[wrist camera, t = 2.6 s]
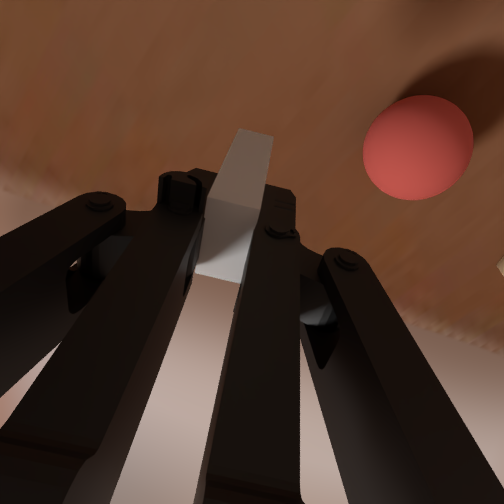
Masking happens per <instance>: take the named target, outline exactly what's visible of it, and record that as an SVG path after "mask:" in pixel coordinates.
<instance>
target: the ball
mask: <svg viewBox="0 0 504 504" xmlns="http://www.w3.org/2000/svg"><path fill="white" fill-rule="evenodd" d="M473 145H474V140H473V132H472V128H471V125H470V123H469V121H468V119H467V117H466V116H465V114H464V113H463V112H462V111H461V110H460V109H459V108H458V107H457V106H456V105H455V104H453V103H452V102H450V101H448V100H446V99H443V98H440V97H437V96H431V95H417V96H411V97H407V98H404V99H402V100H399V101H397V102H395V103H394V104H392V105H390V106H389V107H387V108H386V109H385V110H384V111H382V112H381V113H380V114H379V115H378V116H377V118H376V119H375V120H374V121H373V123H372V125H371V126H370V128H369V130H368V132H367V134H366V137H365V141H364V146H363V161H364V165H365V169H366V171H367V174H368V175H369V177H370V179H371V180H372V182H373V183H374V184H375V185H376V186H377V187H378V188H379V189H380V190H382V191H383V192H385V193H386V194H388V195H390V196H393V197H396V198H399V199H404V200H421V199H426V198H430V197H433V196H435V195H438V194H440V193H442V192H443V191H445V190H447V189H448V188H449V187H451V186H452V185H453V184H454V183H455V182H456V181H457V180H458V179H459V178H460V177H461V176H462V174H463V173H464V171H465V170H466V168H467V166H468V164H469V162H470V159H471V156H472V152H473Z"/></svg>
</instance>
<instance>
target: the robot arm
mask: <svg viewBox="0 0 504 504" xmlns="http://www.w3.org/2000/svg"><path fill="white" fill-rule="evenodd" d="M273 138H274V137H273V136H269V135H265V134H261V133H257V132H253V131H249V130H245V129H241V128H239V129H238V132H237V134H236V136H235V138H234V140H233V142H232V145H231V147H230V149H229V151H228V153H227V155H226V157H225V160H224V162H223V164H222V166H221V168H220V170H219V172H218V173H215V172H210V171H206V170H202V169H198V168H195V169H192V170H190V171H188V172H181V171H171V172H166V173H163V174H162V175H160V176H159V183H158V197H157V204H156V205H155V207H154V208H153V210H151V211H130V210H126V202H125V201H124V200H123V199H122V198H121V197H119V196H117V195H114V194H111V193H108V192H98V191H97V192H91V193H85V194H83V195H80V196H78V197H76V198H74V199H72V200H70V201H68V202H66V203H64V204H62V205H60V206H58V207H56V208H55V209H53V210H51V211H49V212H47V213H45V214H43V215H41V216H39V217H37V218H35V219H33V220H31V221H30V222H28V223H26V224H24V225H22V226H20V227H18V228H16V229H14V230H13V231H10V232H8V233H7V234H5V235H3V236H1V237H0V397H2V396H3V395H4V394H5V393H6V392H7V391H8V390H9V389H10V388H11V387H12V386H13V385H14V384H16V383H17V382H18V381H19V380H20V379H21V378H22V377H23V376H24V375H25V374H27V373H28V372H29V370H31V369H32V368H33V367H34V366H35V365H36V364H37V363H38V362H39V361H40V360H41V359H42V358H44V357H45V356H46V355H47V354H48V353H49V352H50V351H52V349H54V348H55V347H56V346H57V345H58V344H59V343H60V342H61V341H62V342H61V343H60V344H59V346H58V348H57V349H56V350H55V352H54V353H53V355H52V356H51V358H50V359H49V361H48V362H47V363H46V365H45V366H44V368H43V369H42V371H41V372H40V374H39V375H38V376H37V378H36V379H35V381H34V382H33V384H32V385H31V386H30V388H29V389H28V391H27V392H26V394H25V395H24V397H23V398H22V400H21V401H20V403H19V404H18V405H17V407H16V408H15V410H14V411H13V413H12V414H11V416H10V417H9V418H8V420H7V421H6V422H5V424H4V425H3V426H2V427H1V429H0V504H110V501H111V498H112V495H113V493H114V490H115V487H116V485H117V482H118V480H119V477H120V474H121V471H122V468H123V466H124V463H125V461H126V458H127V455H128V453H129V450H130V447H131V445H132V442H133V439H134V437H135V434H136V431H137V428H138V426H139V423H140V420H141V418H142V415H143V413H144V410H145V407H146V404H147V402H148V399H149V396H150V394H151V391H152V388H153V386H154V383H155V380H156V378H157V375H158V372H159V370H160V367H161V364H162V361H163V359H164V356H165V354H166V351H167V348H168V345H169V342H170V340H171V337H172V335H173V332H174V329H175V327H176V324H177V321H178V319H179V316H180V313H181V311H182V308H183V305H184V302H185V300H186V297H187V294H188V292H189V289H190V286H191V284H192V278H193V272H194V269H195V266H196V269H195V273H198V274H202V275H206V276H210V277H214V278H219V279H223V280H227V281H231V282H236V283H240V287H239V292H238V295H237V299H236V303H235V307H234V311H233V312H234V314H233V319H232V324H231V329H230V333H229V338H228V343H227V348H226V352H225V357H224V361H223V366H222V371H221V376H220V380H219V385H218V390H217V395H216V399H215V404H214V409H213V413H212V418H211V423H210V427H209V432H208V437H207V442H206V446H205V451H204V456H203V460H202V465H201V470H200V475H199V479H198V484H197V489H196V494H195V498H194V503H193V504H305V503H304V502H303V501H302V498H301V494H300V339H301V343H302V346H303V349H304V353H305V356H306V359H307V363H308V366H309V370H310V373H311V377H312V380H313V383H314V387H315V390H316V394H317V397H318V401H319V404H320V407H321V411H322V414H323V417H324V421H325V424H326V428H327V431H328V435H329V438H330V441H331V445H332V448H333V452H334V455H335V459H336V462H337V465H338V469H339V472H340V476H341V479H342V482H343V486H344V489H345V492H346V496H347V499H348V503H349V504H504V488H503V487H502V485H501V483H500V482H499V480H498V478H497V476H496V475H495V473H494V471H493V470H492V468H491V467H490V465H489V463H488V461H487V460H486V458H485V457H484V455H483V453H482V451H481V450H480V448H479V447H478V445H477V443H476V442H475V440H474V438H473V437H472V435H471V433H470V432H469V430H468V428H467V427H466V425H465V423H464V422H463V420H462V418H461V417H460V415H459V413H458V412H457V410H456V408H455V407H454V405H453V404H452V402H451V400H450V398H449V397H448V395H447V394H446V392H445V390H444V388H443V387H442V385H441V383H440V382H439V380H438V379H437V377H436V375H435V373H434V372H433V370H432V368H431V367H430V365H429V364H428V362H427V360H426V358H425V357H424V355H423V353H422V352H421V350H420V348H419V347H418V345H417V343H416V342H415V340H414V338H413V337H412V335H411V333H410V332H409V330H408V328H407V327H406V325H405V323H404V322H403V320H402V318H401V317H400V315H399V313H398V312H397V310H396V308H395V307H394V305H393V303H392V302H391V300H390V298H389V297H388V295H387V293H386V292H385V290H384V288H383V287H382V285H381V283H380V282H379V280H378V278H377V277H376V275H375V273H374V272H373V270H372V269H371V267H370V265H369V264H368V263H367V261H366V260H365V259H364V258H363V257H361V256H360V255H358V254H357V253H356V252H354V251H351V250H349V249H344V248H330V249H327V250H326V251H325V253H324V254H323V256H322V255H320V254H318V253H315V252H313V251H311V250H309V249H307V248H306V247H305V246H303V245H302V244H301V243H300V235H299V232H298V231H297V230H296V229H295V218H296V212H295V211H296V197H295V196H294V194H293V193H292V192H291V190H288V189H284V188H280V187H276V186H272V185H268V184H265V182H266V177H267V171H268V166H269V160H270V155H271V149H272V144H273ZM76 260H77V263H76V264H75V265H73V266H72V267H70V266H71V265H72V264H73V263H74V262H75V261H76Z"/></svg>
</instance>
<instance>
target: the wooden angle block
mask: <svg viewBox="0 0 504 504" xmlns="http://www.w3.org/2000/svg"><path fill="white" fill-rule="evenodd" d="M496 266H497V267H498V269H499V270H500V272H501V273H502V274H503V276H504V256H503V258H502V259H501V260H500V261H499V263H498V264H497V265H496Z"/></svg>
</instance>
